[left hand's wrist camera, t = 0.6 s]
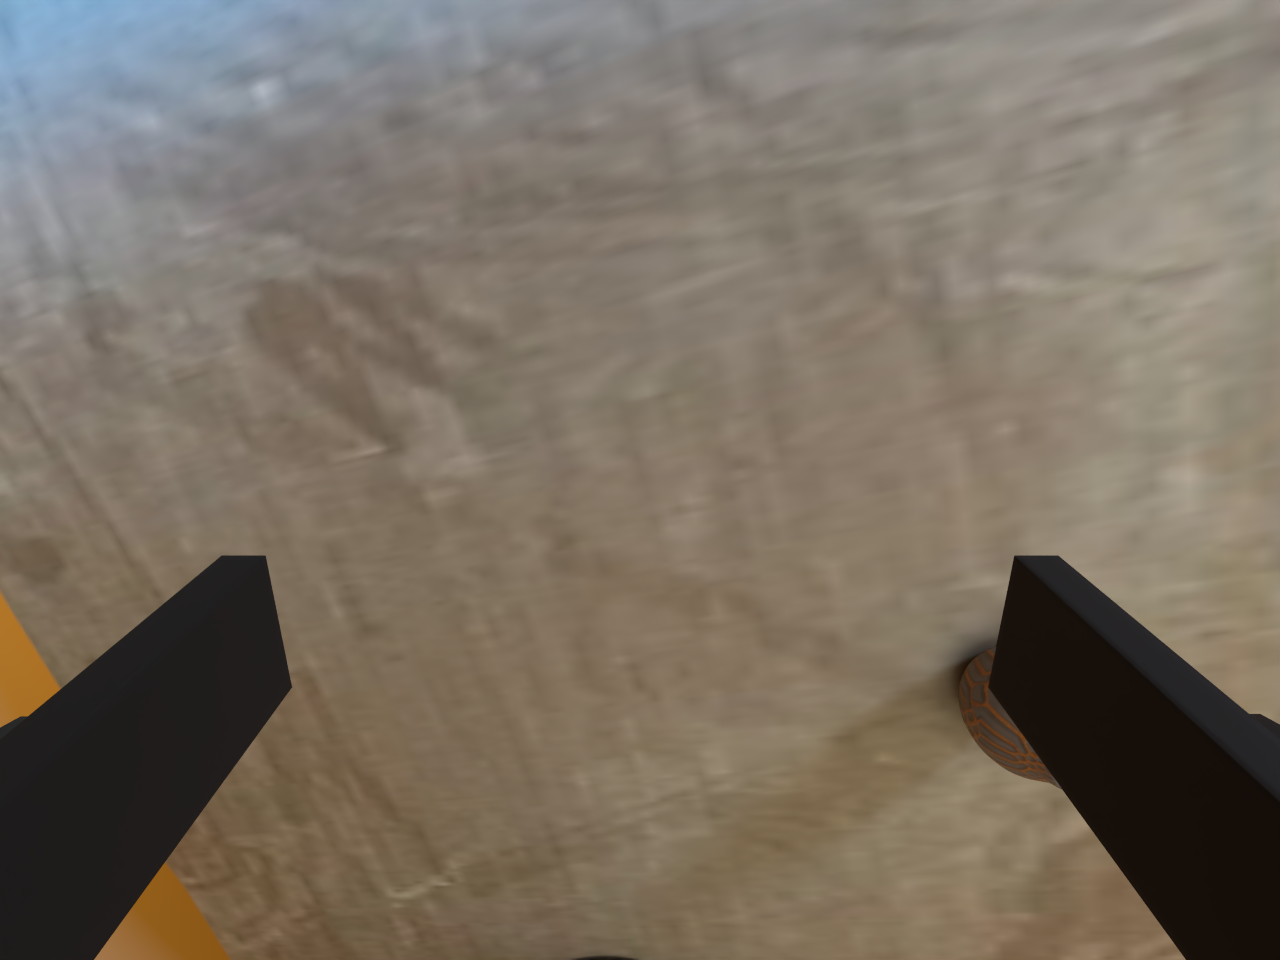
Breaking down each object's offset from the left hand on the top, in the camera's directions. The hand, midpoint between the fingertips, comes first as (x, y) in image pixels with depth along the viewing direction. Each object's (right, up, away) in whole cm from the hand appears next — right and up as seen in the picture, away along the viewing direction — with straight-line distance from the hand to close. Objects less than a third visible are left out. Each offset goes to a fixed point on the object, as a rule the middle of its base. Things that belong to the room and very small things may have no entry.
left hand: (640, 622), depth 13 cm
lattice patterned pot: (+23, -10, +33) cm, 41 cm away
